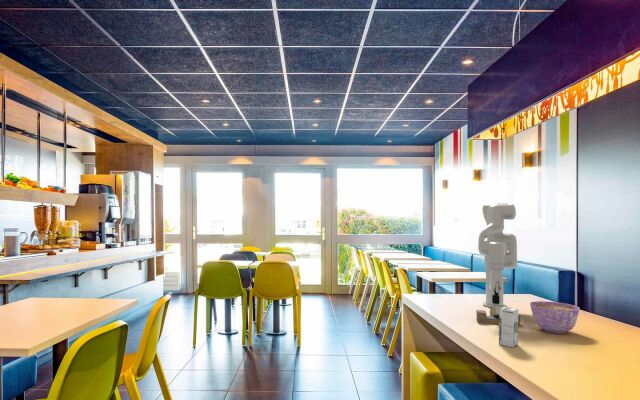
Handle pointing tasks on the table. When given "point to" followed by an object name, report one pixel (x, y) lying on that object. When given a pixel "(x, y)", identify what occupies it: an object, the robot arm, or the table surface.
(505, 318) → the syrup box
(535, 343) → the table surface
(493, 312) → the skincare box
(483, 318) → the walnut cradle
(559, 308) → the bowl of food
